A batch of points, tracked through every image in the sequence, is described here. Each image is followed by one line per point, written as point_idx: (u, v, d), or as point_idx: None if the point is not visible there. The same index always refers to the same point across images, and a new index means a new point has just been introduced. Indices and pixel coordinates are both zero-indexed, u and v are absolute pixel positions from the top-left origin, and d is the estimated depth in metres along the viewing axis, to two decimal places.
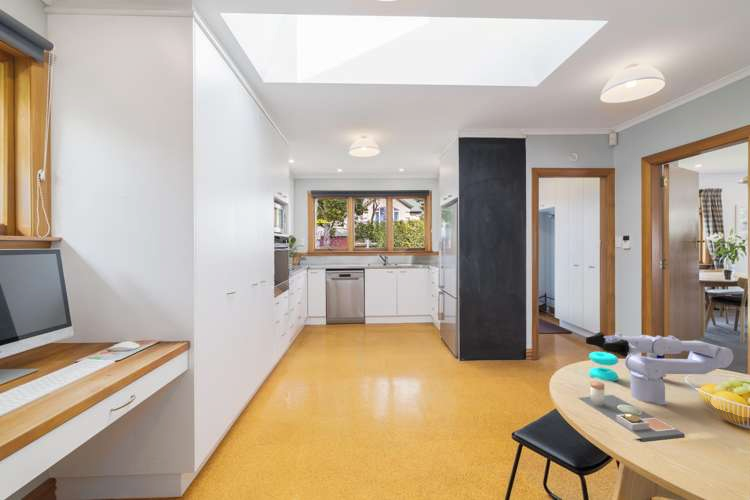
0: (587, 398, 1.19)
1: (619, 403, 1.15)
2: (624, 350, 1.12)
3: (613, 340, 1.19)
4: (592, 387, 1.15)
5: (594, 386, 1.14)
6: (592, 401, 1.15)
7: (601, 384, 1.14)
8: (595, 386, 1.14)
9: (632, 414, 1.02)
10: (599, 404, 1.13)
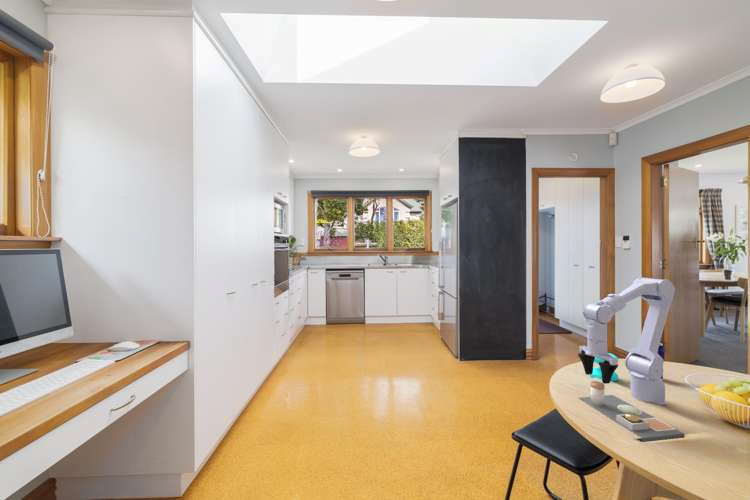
0: (587, 398, 1.19)
1: (619, 403, 1.15)
2: None
3: None
4: (592, 387, 1.15)
5: (594, 386, 1.14)
6: (592, 401, 1.15)
7: (601, 384, 1.14)
8: (595, 386, 1.14)
9: (632, 414, 1.02)
10: (599, 404, 1.13)
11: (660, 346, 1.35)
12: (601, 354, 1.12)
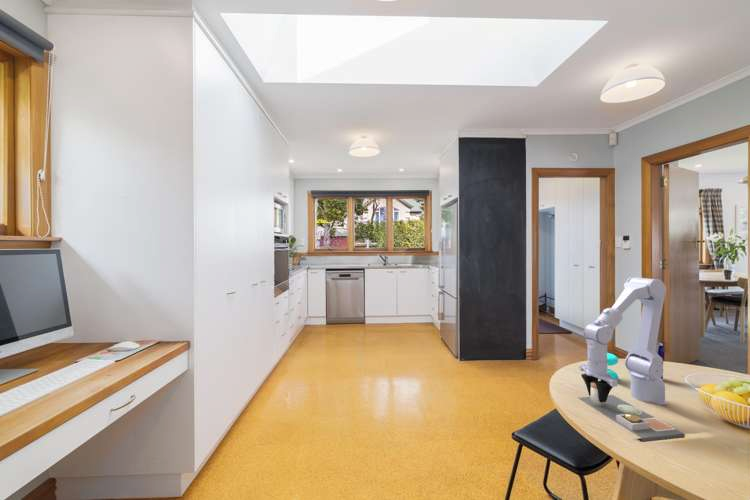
0: (587, 398, 1.19)
1: (619, 403, 1.15)
2: None
3: None
4: (592, 387, 1.15)
5: (594, 386, 1.14)
6: (592, 401, 1.15)
7: None
8: (595, 386, 1.14)
9: (632, 414, 1.02)
10: (599, 404, 1.13)
11: (660, 346, 1.35)
12: (601, 375, 1.12)
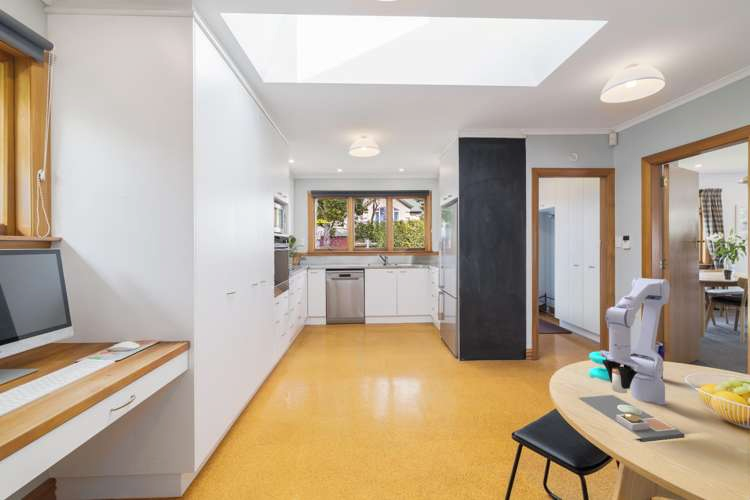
0: (587, 398, 1.19)
1: (619, 403, 1.15)
2: None
3: None
4: (614, 373, 1.09)
5: (616, 372, 1.08)
6: (614, 388, 1.09)
7: None
8: (617, 372, 1.08)
9: (632, 414, 1.02)
10: (622, 391, 1.08)
11: (660, 346, 1.35)
12: (624, 360, 1.06)
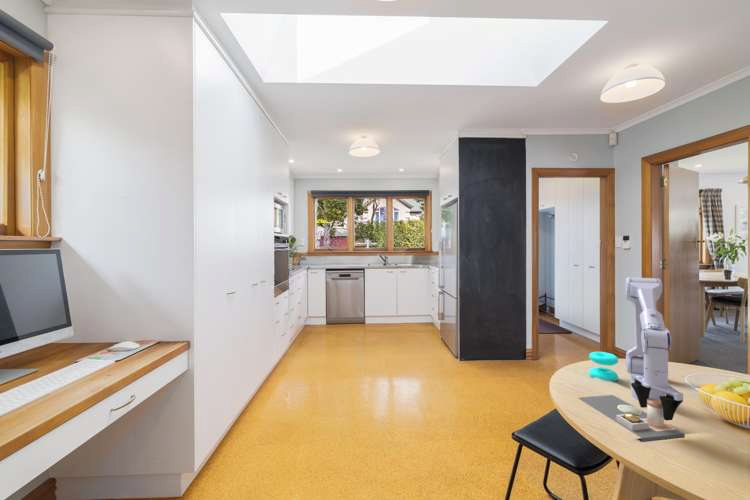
0: (587, 398, 1.19)
1: (619, 403, 1.15)
2: None
3: None
4: (650, 405, 1.01)
5: (652, 404, 1.01)
6: (649, 421, 1.01)
7: (660, 402, 1.01)
8: (654, 404, 1.00)
9: (632, 414, 1.02)
10: (658, 425, 1.00)
11: None
12: (662, 386, 0.99)
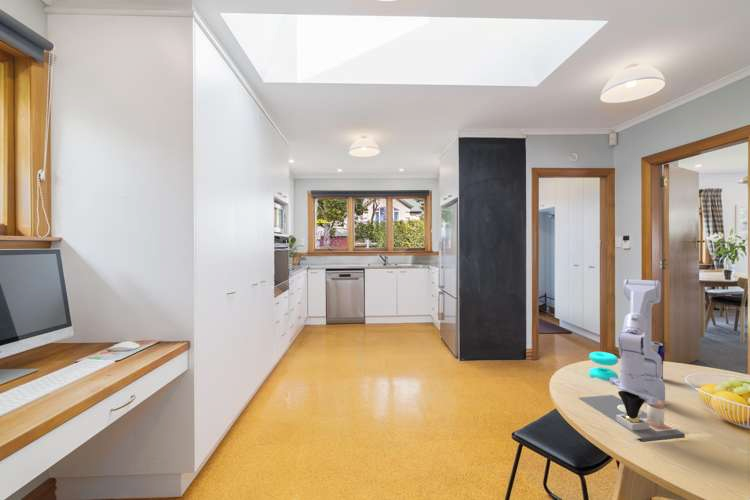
0: (587, 398, 1.19)
1: (619, 403, 1.15)
2: None
3: None
4: (650, 405, 1.01)
5: None
6: (649, 421, 1.01)
7: (661, 402, 1.01)
8: (654, 405, 1.00)
9: None
10: (658, 425, 1.00)
11: (660, 346, 1.35)
12: (638, 390, 0.99)
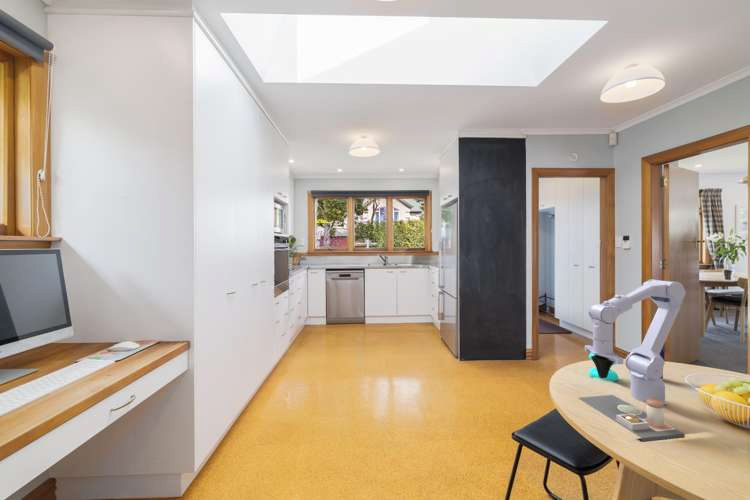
0: (587, 398, 1.19)
1: (619, 403, 1.15)
2: None
3: None
4: (648, 405, 1.01)
5: (651, 404, 1.01)
6: (649, 421, 1.01)
7: (659, 402, 1.01)
8: (652, 404, 1.00)
9: (632, 416, 1.02)
10: (658, 425, 1.00)
11: None
12: (607, 353, 1.14)
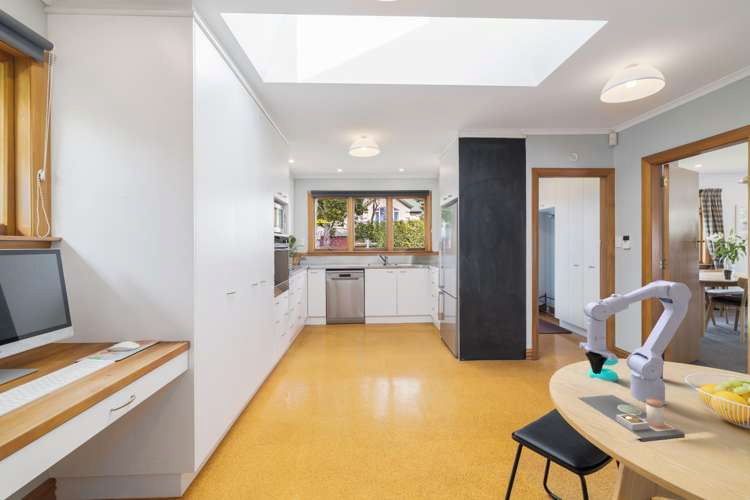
0: (587, 398, 1.19)
1: (619, 403, 1.15)
2: None
3: None
4: (648, 405, 1.02)
5: (650, 403, 1.01)
6: (648, 421, 1.02)
7: (659, 402, 1.01)
8: (651, 404, 1.01)
9: (632, 416, 1.02)
10: (657, 424, 1.00)
11: None
12: (600, 350, 1.18)
